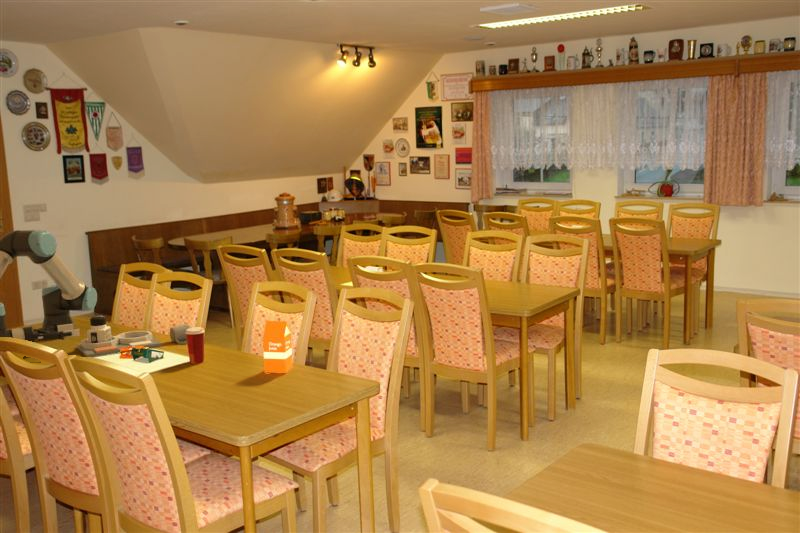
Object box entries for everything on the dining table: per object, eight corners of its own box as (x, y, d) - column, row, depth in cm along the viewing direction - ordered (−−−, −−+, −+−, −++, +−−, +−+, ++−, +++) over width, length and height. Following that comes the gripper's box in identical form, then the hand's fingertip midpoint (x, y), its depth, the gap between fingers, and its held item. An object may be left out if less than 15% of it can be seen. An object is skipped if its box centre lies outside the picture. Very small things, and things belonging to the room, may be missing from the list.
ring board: (77, 347, 348) (76, 339, 347) (148, 337, 365) (148, 328, 364) (87, 358, 329) (86, 348, 329) (162, 346, 346) (161, 337, 346)
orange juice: (286, 374, 298) (283, 323, 295) (264, 373, 300) (261, 323, 297) (292, 368, 306) (290, 319, 303) (271, 367, 307) (269, 318, 304)
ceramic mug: (169, 341, 356) (168, 324, 354) (187, 338, 360) (186, 322, 359) (175, 346, 347) (174, 329, 345) (193, 343, 351) (192, 327, 350)
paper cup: (209, 359, 322) (207, 326, 320) (202, 364, 314) (200, 331, 312) (191, 359, 323) (188, 326, 321) (184, 364, 315) (181, 331, 313)
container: (105, 347, 341) (103, 318, 339) (88, 347, 341) (85, 318, 339) (112, 342, 349) (109, 314, 347) (95, 343, 349) (92, 315, 347)
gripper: (20, 339, 338) (71, 332, 350) (28, 351, 318) (82, 343, 329) (18, 323, 337) (70, 316, 349) (26, 333, 317) (81, 326, 328)
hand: (76, 329), depth 339 cm, fingers open, 13 cm apart
